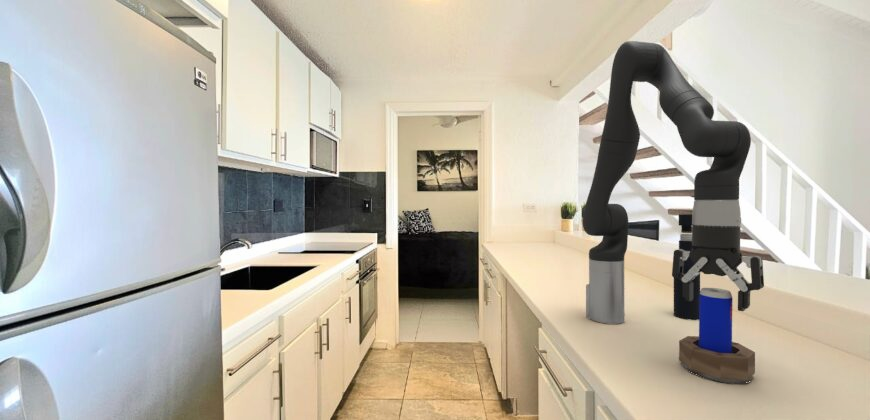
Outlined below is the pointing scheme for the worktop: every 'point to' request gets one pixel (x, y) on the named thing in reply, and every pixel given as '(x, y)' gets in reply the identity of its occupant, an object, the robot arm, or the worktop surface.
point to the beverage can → (715, 320)
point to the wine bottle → (680, 304)
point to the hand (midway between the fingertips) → (714, 305)
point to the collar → (717, 361)
